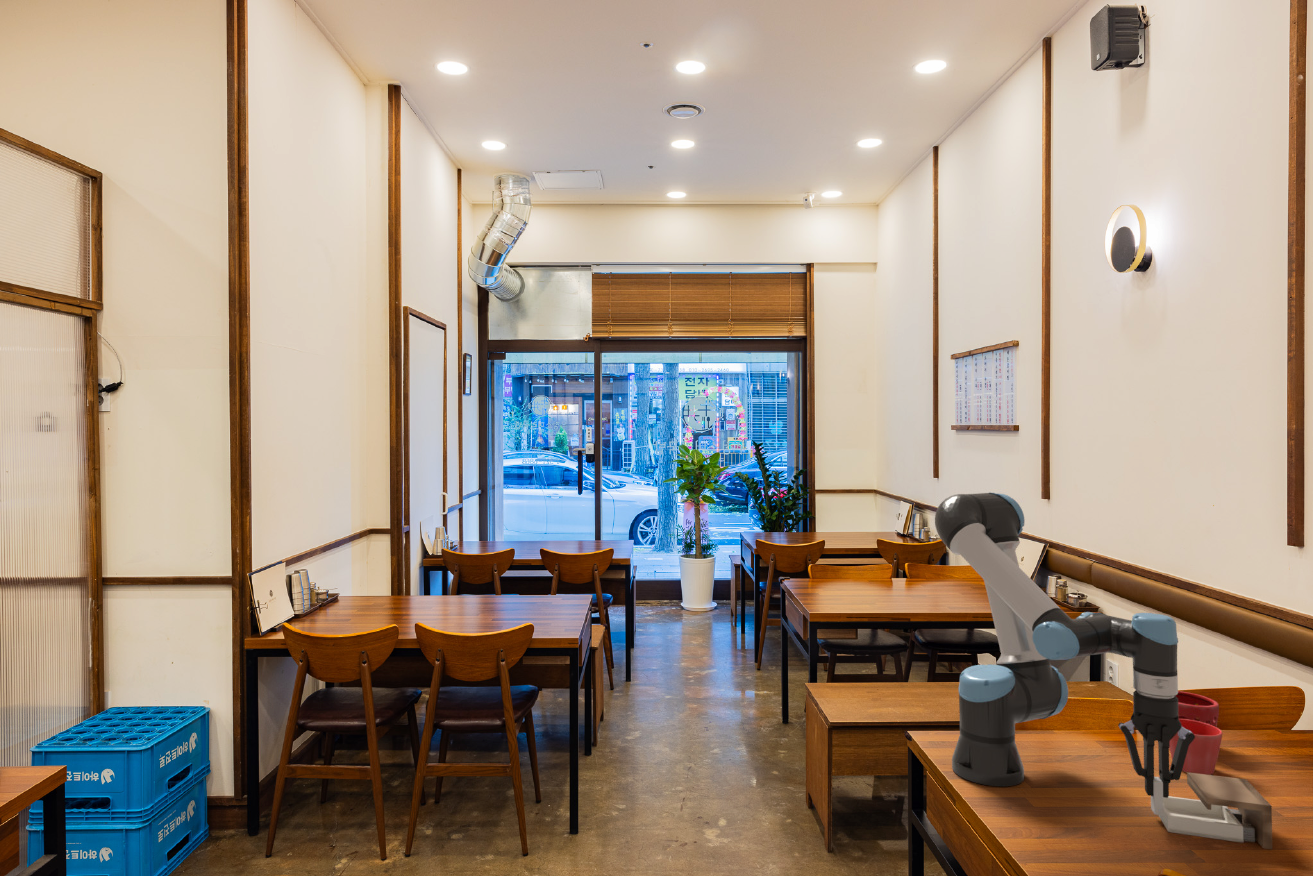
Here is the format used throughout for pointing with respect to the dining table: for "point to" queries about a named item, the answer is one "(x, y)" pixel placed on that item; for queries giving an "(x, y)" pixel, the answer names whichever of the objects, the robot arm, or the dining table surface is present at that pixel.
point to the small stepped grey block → (1245, 827)
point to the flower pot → (1200, 747)
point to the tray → (1200, 819)
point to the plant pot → (1197, 708)
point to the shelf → (1236, 801)
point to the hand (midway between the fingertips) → (1157, 812)
